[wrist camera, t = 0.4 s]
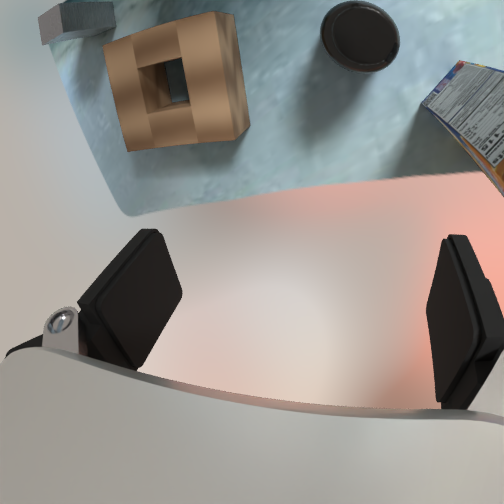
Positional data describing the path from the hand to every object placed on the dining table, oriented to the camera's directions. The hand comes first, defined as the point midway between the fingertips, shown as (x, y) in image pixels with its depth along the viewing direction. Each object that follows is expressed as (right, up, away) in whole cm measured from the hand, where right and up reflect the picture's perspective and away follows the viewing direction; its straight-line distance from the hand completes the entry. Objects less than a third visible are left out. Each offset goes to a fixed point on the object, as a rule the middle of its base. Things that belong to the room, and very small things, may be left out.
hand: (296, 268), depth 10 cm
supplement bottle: (+10, +23, +17) cm, 30 cm away
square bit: (-21, +32, +20) cm, 43 cm away
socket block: (-9, +22, +24) cm, 34 cm away
